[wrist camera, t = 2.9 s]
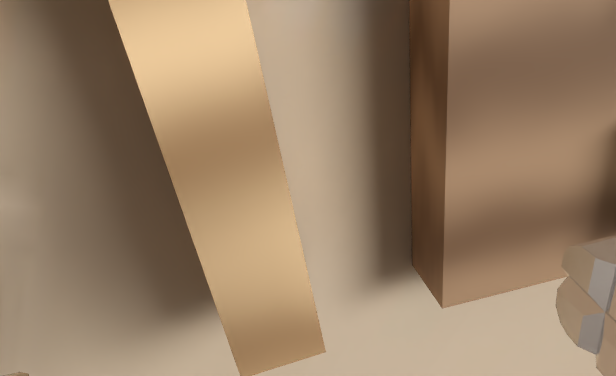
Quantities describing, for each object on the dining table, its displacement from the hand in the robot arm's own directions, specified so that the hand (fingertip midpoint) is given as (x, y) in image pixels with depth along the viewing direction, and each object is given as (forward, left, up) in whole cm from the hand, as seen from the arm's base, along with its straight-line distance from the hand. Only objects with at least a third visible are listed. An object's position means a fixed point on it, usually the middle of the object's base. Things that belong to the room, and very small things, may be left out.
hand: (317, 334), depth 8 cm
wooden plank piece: (0, +1, -12) cm, 12 cm away
